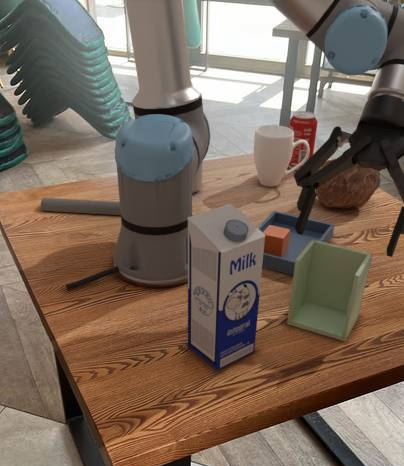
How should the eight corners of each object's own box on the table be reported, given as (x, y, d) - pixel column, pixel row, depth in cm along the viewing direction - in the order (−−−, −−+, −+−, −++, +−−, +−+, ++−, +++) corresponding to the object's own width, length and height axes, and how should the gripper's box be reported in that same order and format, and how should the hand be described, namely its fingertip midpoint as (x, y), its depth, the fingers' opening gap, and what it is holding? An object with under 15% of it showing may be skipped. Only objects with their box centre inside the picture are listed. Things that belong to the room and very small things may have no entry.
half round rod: (136, 216, 114) (135, 208, 113) (40, 211, 115) (38, 202, 114) (139, 207, 117) (139, 199, 116) (46, 202, 118) (45, 194, 117)
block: (269, 224, 102) (261, 233, 99) (290, 229, 101) (283, 238, 98) (267, 244, 105) (259, 254, 102) (288, 249, 103) (281, 259, 101)
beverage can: (310, 162, 139) (317, 110, 131) (311, 172, 134) (319, 119, 126) (284, 161, 139) (290, 109, 131) (284, 171, 134) (290, 117, 127)
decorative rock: (376, 198, 123) (387, 151, 117) (372, 220, 115) (383, 171, 108) (316, 189, 126) (322, 143, 120) (307, 210, 118) (314, 162, 111)
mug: (249, 188, 126) (252, 135, 119) (253, 174, 132) (257, 123, 125) (303, 193, 124) (311, 140, 117) (305, 179, 131) (312, 127, 123)
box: (302, 301, 91) (312, 239, 84) (358, 317, 88) (372, 253, 81) (286, 324, 86) (295, 259, 79) (344, 341, 83) (359, 276, 76)
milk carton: (224, 329, 85) (231, 201, 72) (255, 351, 81) (267, 220, 68) (186, 347, 81) (186, 216, 69) (216, 371, 77) (222, 236, 65)
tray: (301, 277, 97) (303, 264, 95) (236, 260, 101) (237, 247, 100) (332, 236, 109) (334, 224, 107) (272, 222, 113) (274, 210, 111)
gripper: (477, 135, 83) (429, 271, 82) (313, 109, 92) (268, 231, 91) (484, 106, 76) (432, 254, 75) (306, 80, 85) (258, 212, 84)
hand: (342, 242), depth 83 cm, fingers open, 13 cm apart
